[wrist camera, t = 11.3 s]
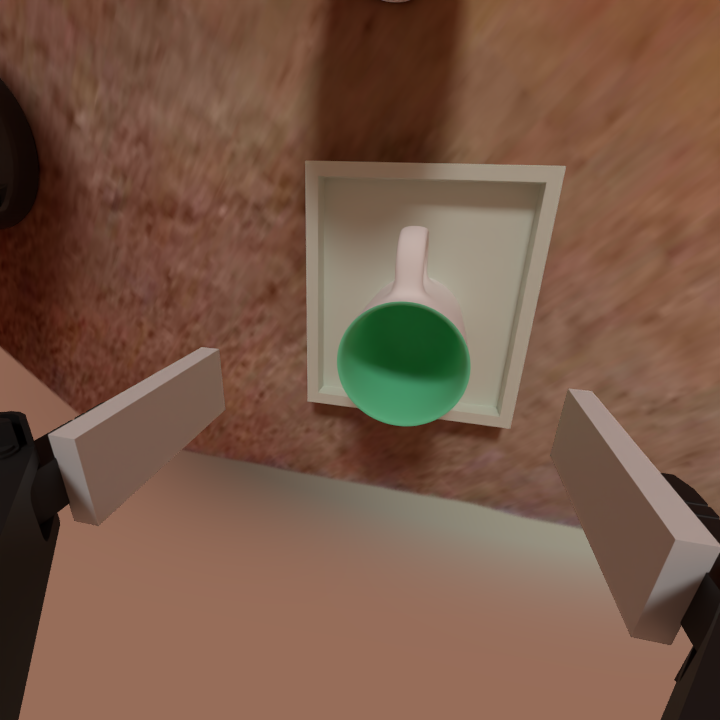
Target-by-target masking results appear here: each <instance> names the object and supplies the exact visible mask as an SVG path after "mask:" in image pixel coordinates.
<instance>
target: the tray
mask: <svg viewBox="0 0 720 720" xmlns="http://www.w3.org/2000/svg"><path fill="white" fill-rule="evenodd" d="M565 169H566V166H541V165H494V164H447V163H400V162H352V161H305V193H306V286H307V378H308V401H310V402H317V403H325V404H332V405H339V406H347V407H354V408H358V407H357V406H356V405H355V404H354V403H353V402H352V401H351V400H350V398H349V397H348V395H347V394H346V392H345V390H344V389H343V386H342V384H341V382H340V379H339V375H338V369H337V353H338V348H339V344H340V341H341V339H342V337H343V335H344V333H345V331H346V330H347V328H348V327H349V325H350V324H351V323H352V322H353V321H354V320H355V319H356V317H357V316H358V315H359V314H360V313H361V312H362V311H363V309H364V308H365V307H366V306H367V305H368V304H369V303H370V301H371V300H372V299H373V298H374V297H375V296H376V295H377V293H378V292H379V291H380V290H381V289H382V288H383V287H385V286H386V285H387V284H389V283H390V282H392V281H394V280H395V265H396V253H397V245H398V240H399V235H400V232H401V230H402V229H403V228H405V227H408V226H422V227H425V228H427V229H428V231H429V247H428V264H427V274H428V277H429V278H431V279H434V280H436V281H438V282H440V283H441V284H443V285H444V286H445V287H447V288H448V289H449V290H450V291H451V292H452V293H453V295H454V296H455V298H456V299H457V301H458V303H459V305H460V308H461V312H462V317H463V322H464V328H465V333H466V339H467V344H468V349H469V355H470V362H471V370H470V378H469V382H468V385H467V388H466V390H465V392H464V394H463V396H462V397H461V399H460V400H459V402H458V403H457V404H456V405H455V406H454V407H453V408H452V409H451V410H450V411H449V412H448V413H446V414H445V415H443V416H442V417H440V418H438V419H442V420H449V421H457V422H464V423H472V424H479V425H486V426H494V427H501V428H508V429H510V427H511V422H512V417H513V413H514V408H515V403H516V399H517V394H518V389H519V385H520V380H521V375H522V371H523V366H524V361H525V356H526V352H527V347H528V342H529V338H530V333H531V328H532V324H533V319H534V314H535V310H536V305H537V300H538V296H539V291H540V286H541V281H542V277H543V272H544V267H545V263H546V258H547V253H548V249H549V244H550V239H551V235H552V230H553V225H554V221H555V216H556V211H557V206H558V202H559V197H560V192H561V188H562V183H563V178H564V174H565Z"/></svg>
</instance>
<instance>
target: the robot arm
mask: <svg viewBox="0 0 720 720" xmlns="http://www.w3.org/2000/svg"><path fill="white" fill-rule="evenodd" d="M38 174H39V172H38V159H37V152H36V148H35V143H34V140H33V136H32V133H31V130H30V128H29V125H28V122H27V120H26V118H25V116H24V114H23V112H22V110H21V108H20V106H19V104H18V102H17V101H16V99H15V98H14V96H13V94H12V93H11V92H10V90H9V89H8V87H7V86H6V85H5V84H4V82H3V81H2V80H1V79H0V229H4V228H8V227H11V226H13V225H15V224H17V223H18V222H20V221H21V220H22V219H23V218H24V217H25V216H26V215H27V213H28V212H29V210H30V209H31V207H32V205H33V202H34V200H35V197H36V193H37V187H38ZM224 410H225V402H224V392H223V383H222V373H221V363H220V354H219V349H213V348H204V347H201V348H200V349H198V350H196V351H194V352H192V353H191V354H189V355H187V356H185V357H184V358H182V359H180V360H178V361H177V362H175V363H173V364H171V365H170V366H168V367H166V368H164V369H163V370H161V371H159V372H157V373H156V374H154V375H152V376H150V377H149V378H147V379H145V380H143V381H142V382H140V383H138V384H136V385H134V386H133V387H131V388H129V389H127V390H126V391H124V392H122V393H120V394H119V395H117V396H115V397H113V398H112V399H110V400H108V401H106V402H103V403H100V404H99V405H97V406H95V407H93V408H92V409H90V410H88V411H86V413H83V414H81V415H79V416H77V417H76V418H75V419H74V420H70V421H68V422H67V423H65V424H63V425H61V426H60V427H58V428H56V429H54V430H53V431H51V432H50V433H47V434H46V435H44V436H42V437H40V438H38V439H37V440H35V441H34V440H33V437H32V434H31V430H30V427H29V425H28V421H27V419H26V415H25V414H23V413H21V412H14V411H10V412H0V720H18V719H19V714H20V709H21V705H22V700H23V696H24V691H25V686H26V681H27V677H28V672H29V667H30V662H31V658H32V653H33V649H34V644H35V639H36V635H37V630H38V625H39V621H40V616H41V611H42V607H43V602H44V597H45V592H46V588H47V583H48V578H49V574H50V569H51V564H52V560H53V555H54V550H55V546H56V540H57V536H58V532H59V527H60V520H59V517H58V514H57V512H59V511H60V510H61V509H63V508H64V507H65V506H66V505H68V504H69V505H70V508H71V512H72V515H73V518H74V521H77V522H82V523H87V524H92V525H97V526H99V525H100V524H101V523H102V522H103V521H104V520H106V519H107V518H108V517H109V516H110V515H111V514H112V513H113V512H114V511H115V510H116V509H117V508H118V507H120V506H121V505H122V504H123V503H124V502H125V501H126V500H127V499H128V498H129V497H130V496H132V495H133V494H134V493H135V492H136V491H137V490H138V489H139V488H140V487H141V486H142V485H143V484H145V483H146V481H148V480H149V479H150V478H151V477H152V476H153V475H154V474H155V473H157V472H158V471H159V470H160V469H161V468H162V467H163V466H164V465H165V464H166V463H167V462H169V461H170V460H171V459H172V458H173V457H174V456H175V455H176V454H177V453H178V452H179V451H181V450H182V449H183V448H184V447H185V446H186V445H187V444H188V443H189V442H190V441H191V440H193V439H194V438H195V437H196V436H197V435H198V434H199V433H200V432H201V431H202V430H203V429H205V428H206V427H207V426H208V425H209V424H210V423H211V422H212V421H213V420H214V419H215V418H217V417H218V416H219V415H220V414H221V413H222V412H223V411H224ZM550 456H551V458H552V460H553V463H554V465H555V467H556V469H557V472H558V474H559V476H560V478H561V481H562V483H563V485H564V487H565V490H566V492H567V494H568V496H569V499H570V501H571V503H572V505H573V508H574V510H575V512H576V514H577V517H578V519H579V521H580V523H581V526H582V528H583V530H584V532H585V534H586V537H587V539H588V541H589V544H590V546H591V548H592V550H593V553H594V555H595V557H596V559H597V561H598V564H599V566H600V568H601V571H602V573H603V575H604V577H605V580H606V582H607V584H608V586H609V588H610V591H611V593H612V595H613V597H614V600H615V602H616V604H617V607H618V609H619V611H620V613H621V616H622V618H623V620H624V622H625V624H626V627H627V629H628V631H629V634H630V636H631V637H634V638H639V639H643V640H648V641H653V642H658V643H662V644H667V645H671V644H672V642H673V640H674V639H675V637H676V635H677V633H678V631H679V629H680V627H681V625H682V627H683V629H684V631H685V632H686V634H687V636H688V637H689V639H690V641H691V643H692V644H693V647H692V649H691V651H690V652H689V654H688V656H687V658H686V660H685V661H684V663H683V665H682V667H681V669H680V671H679V672H678V674H677V676H676V678H675V679H674V680H675V681H676V685H675V687H674V689H673V692H672V694H671V696H670V699H669V701H668V704H667V706H666V708H665V711H664V713H663V715H662V718H661V720H720V520H719V516H718V515H717V514H716V513H715V512H714V511H713V509H712V508H711V507H708V504H707V503H706V502H705V501H704V500H703V498H702V497H701V496H700V495H699V494H698V493H697V492H696V491H695V490H694V489H693V488H692V487H690V486H689V485H688V484H686V483H685V482H683V481H682V480H680V479H679V478H677V477H676V476H675V475H672V474H665V473H660V472H659V471H658V470H657V469H656V467H655V466H654V465H653V464H652V463H651V461H650V460H649V459H648V458H647V457H646V455H645V454H644V453H643V452H642V451H641V449H640V448H639V447H638V446H637V445H636V443H635V442H634V441H633V440H632V439H631V437H630V436H629V435H628V434H627V433H626V431H625V430H624V429H623V428H622V427H621V425H620V424H619V423H618V422H617V421H616V419H615V418H614V417H613V416H612V415H611V413H610V412H609V411H608V410H607V409H606V407H605V406H604V405H603V404H602V403H601V401H600V400H599V399H598V398H597V397H596V395H595V394H594V393H593V392H592V391H586V390H577V389H568V391H567V394H566V398H565V402H564V405H563V409H562V413H561V417H560V420H559V424H558V428H557V432H556V435H555V439H554V443H553V447H552V450H551V454H550Z"/></svg>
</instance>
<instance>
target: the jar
mask: <svg viewBox="0 0 720 720" xmlns="http://www.w3.org/2000/svg"><path fill="white" fill-rule="evenodd" d="M382 1H386V2H405V1H409V0H382Z"/></svg>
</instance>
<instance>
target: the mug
mask: <svg viewBox="0 0 720 720" xmlns="http://www.w3.org/2000/svg"><path fill="white" fill-rule="evenodd" d="M428 247H429V231H428V229H427V228H425V227H422V226H408V227H405V228H403V229H402V230H401V232H400V235H399V240H398V245H397V253H396V265H395V280H394V281H392V282H390V283H389V284H387V285H386V286H385V287H383V288H382V289H381V290H380V291H379V292H378V293H377V295H376V296H375V297H374V298H373V299H372V300H371V301H370V303H369V304H368V305H367V306H366V307H365V308H364V309H363V311H362V312H361V313H360V314H359V315H358V316H357V317H356V319H355V320H354V321H353V322H352V323H351V324H350V325H349V327H348V328H347V330H346V331H345V333H344V335H343V337H342V339H341V341H340V344H339V348H338V353H337V369H338V375H339V379H340V382H341V384H342V386H343V389H344V390H345V392H346V394H347V395H348V397H349V398H350V400H351V401H352V402H353V403H354V404H355V405H356V406H357V407H358V408H359V409H360V410H361V411H363V412H364V413H365V414H367V415H368V416H370V417H372V418H374V419H376V420H378V421H381V422H383V423H387V424H391V425H396V426H417V425H422V424H426V423H429V422H432V421H434V420H436V419H438V418H440V417H442V416H443V415H445V414H446V413H448V412H449V411H450V410H451V409H452V408H453V407H454V406H455V405H456V404H457V403H458V402H459V400H460V399H461V397H462V396H463V394H464V392H465V390H466V388H467V385H468V382H469V378H470V370H471V362H470V355H469V349H468V344H467V339H466V333H465V328H464V322H463V317H462V312H461V308H460V305H459V303H458V301H457V299H456V298H455V296H454V295H453V293H452V292H451V291H450V290H449V289H448V288H447V287H445V286H444V285H443V284H441V283H440V282H438V281H436V280H434V279H431V278H429V277H428V274H427V264H428Z"/></svg>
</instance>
